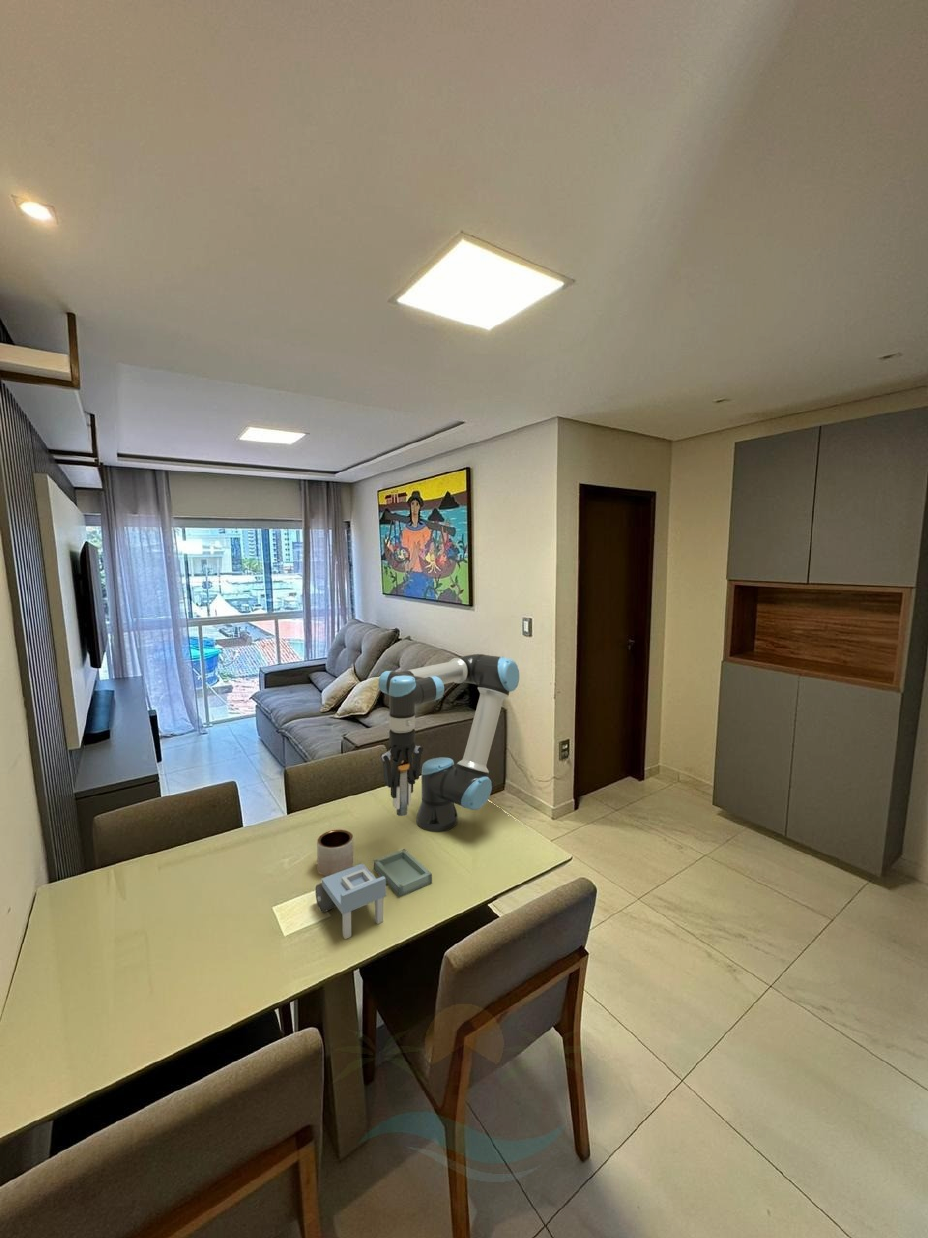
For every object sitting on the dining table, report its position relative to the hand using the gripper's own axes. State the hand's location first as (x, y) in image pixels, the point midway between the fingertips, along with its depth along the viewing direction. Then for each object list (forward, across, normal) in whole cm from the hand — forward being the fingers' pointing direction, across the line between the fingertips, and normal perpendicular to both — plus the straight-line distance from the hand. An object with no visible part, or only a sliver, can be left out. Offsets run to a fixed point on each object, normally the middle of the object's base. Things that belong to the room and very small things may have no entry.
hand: (401, 805), depth 147 cm
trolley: (+23, -19, -6) cm, 30 cm away
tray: (+23, 0, 0) cm, 23 cm away
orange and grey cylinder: (+2, 0, 0) cm, 2 cm away
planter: (+23, -14, +16) cm, 31 cm away
